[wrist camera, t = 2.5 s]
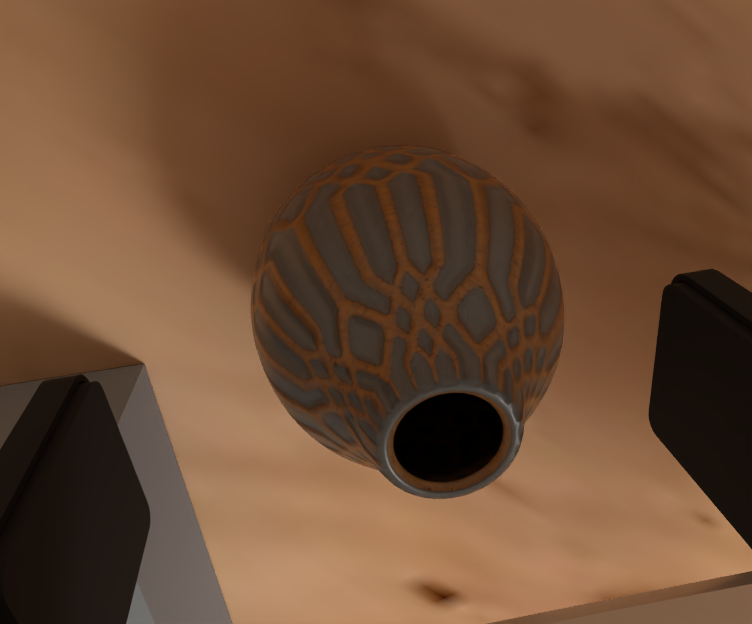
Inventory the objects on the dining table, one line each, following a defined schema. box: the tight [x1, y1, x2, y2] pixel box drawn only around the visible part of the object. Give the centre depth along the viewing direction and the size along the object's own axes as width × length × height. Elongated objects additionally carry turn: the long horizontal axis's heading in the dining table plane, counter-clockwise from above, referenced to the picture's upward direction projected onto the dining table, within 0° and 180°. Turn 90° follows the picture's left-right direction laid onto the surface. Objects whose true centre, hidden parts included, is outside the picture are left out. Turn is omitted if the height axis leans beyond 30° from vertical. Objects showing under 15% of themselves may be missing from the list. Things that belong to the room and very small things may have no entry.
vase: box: [251, 146, 564, 499], centre depth 14 cm, size 7×7×9 cm
